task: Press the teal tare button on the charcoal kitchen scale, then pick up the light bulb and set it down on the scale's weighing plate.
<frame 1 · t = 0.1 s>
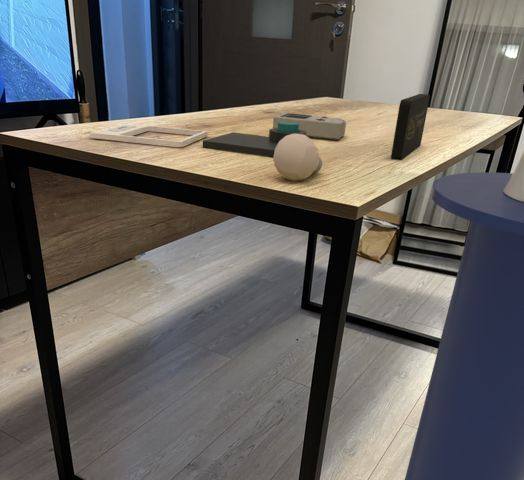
light bulb: (300, 179, 81), on the table
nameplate: (406, 153, 106), on the table
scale: (253, 147, 101), on the table
photo frame: (151, 138, 104), on the table
tare button: (288, 127, 102), point 3 cm above the table, slide at 0.1 cm
handheld gaming device: (309, 136, 119), on the table
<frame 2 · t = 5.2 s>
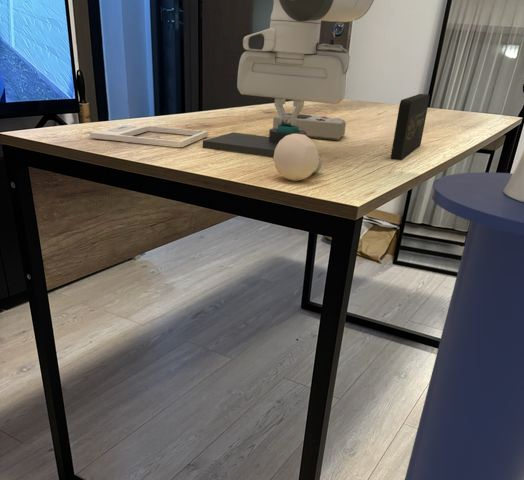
hand: (287, 125, 101), 4 cm above the table, tool pointing down, fingers closed, pressing on tare button
tare button: (287, 130, 102), point 3 cm above the table, slide at -0.4 cm, touching gripper
everything else where it was.
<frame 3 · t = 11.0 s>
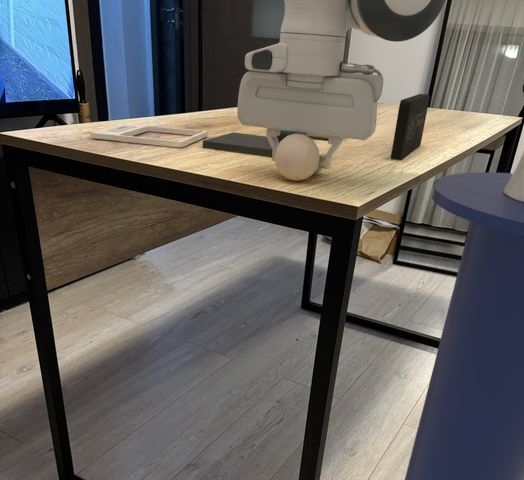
hand: (300, 164, 80), 2 cm above the table, tool pointing down, fingers closed on light bulb, 6 cm apart
light bulb: (301, 179, 81), on the table, touching gripper
tare button: (288, 127, 102), point 3 cm above the table, slide at 0.1 cm
everything else where it was.
when the fingers open (3 cm above the table, at t = 18.4 s): light bulb stays where it is, resting on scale.
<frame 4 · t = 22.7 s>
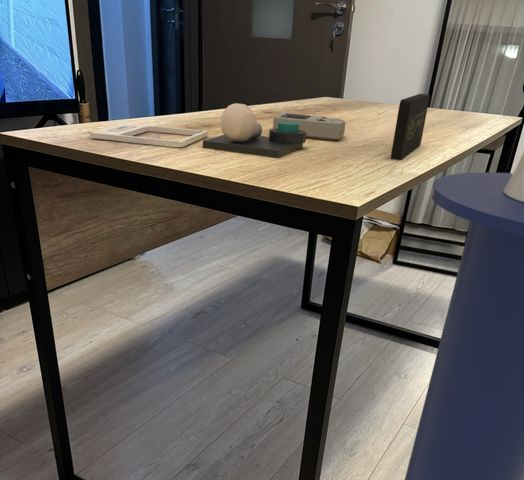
light bulb: (244, 141, 100), point 1 cm above the table, touching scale
everything else where it was.
at the end: tare button pushed in 1.1 cm at the most during the clip, back to where it started at the end; tare button slide at 0.1 cm; light bulb inside the target area on the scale (0.5 cm from its centre), point 1.0 cm above the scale's base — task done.
